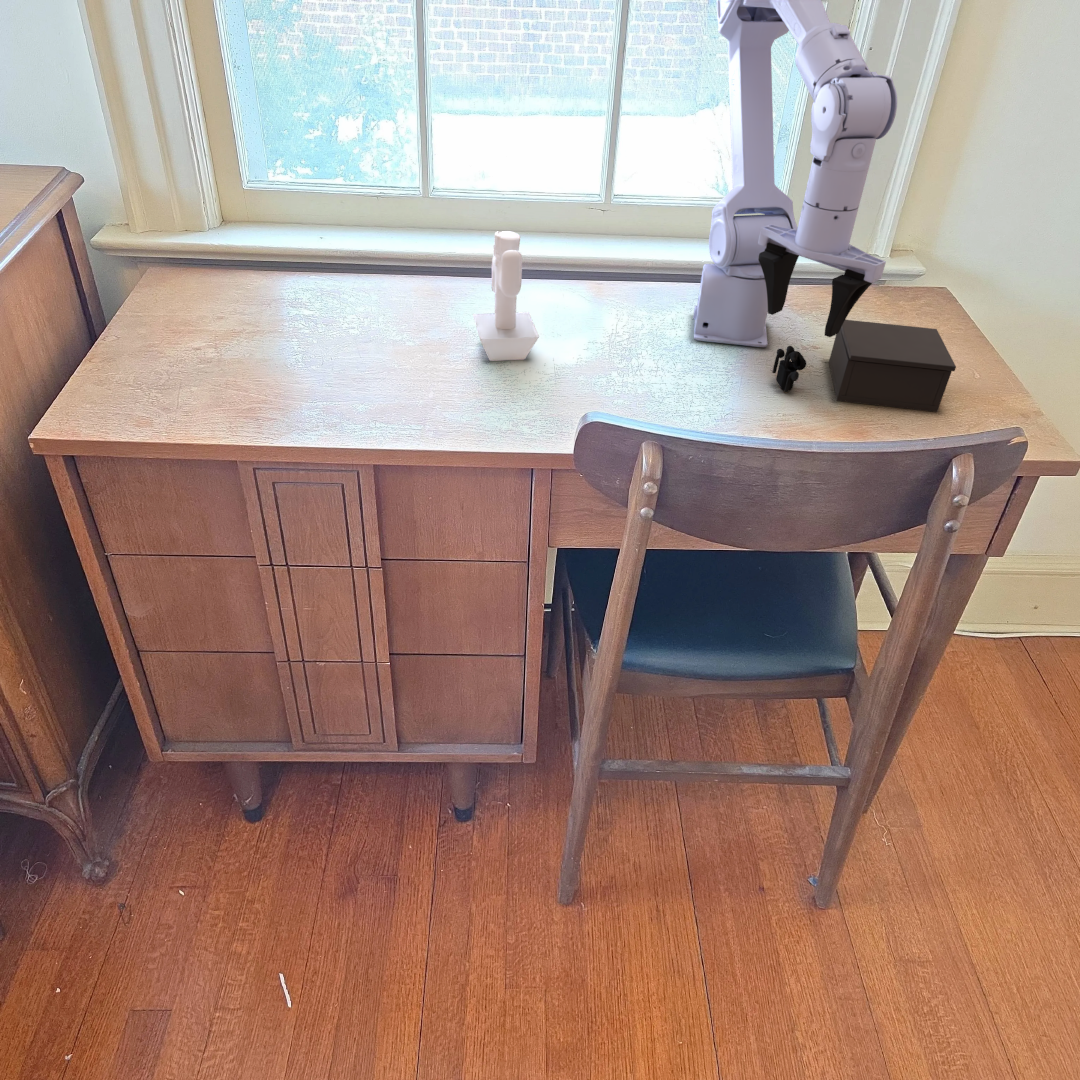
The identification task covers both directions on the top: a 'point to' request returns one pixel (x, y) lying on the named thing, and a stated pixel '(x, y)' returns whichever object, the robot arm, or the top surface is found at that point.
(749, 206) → the robot arm
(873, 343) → the case lid
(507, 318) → the figurine
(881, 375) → the case
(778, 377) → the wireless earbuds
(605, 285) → the top surface
